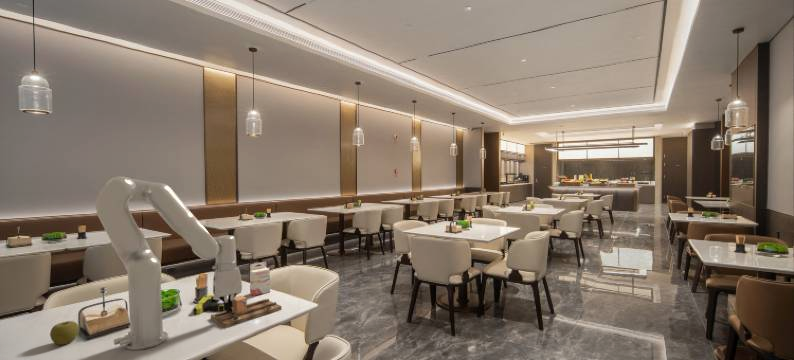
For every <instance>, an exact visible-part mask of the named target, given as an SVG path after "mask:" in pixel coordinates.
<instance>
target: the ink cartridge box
mask: <svg viewBox="0 0 794 360" xmlns="http://www.w3.org/2000/svg"><path fill="white" fill-rule="evenodd" d="M249 292H250V295H252V296H254V297H255V296H258V295H259V296H260V295H264V294H268V293H271V271H270V268H269V267H267V262H266V261H261V262H255V263H250V264H249Z"/></svg>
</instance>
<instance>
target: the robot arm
mask: <svg viewBox="0 0 794 360" xmlns="http://www.w3.org/2000/svg"><path fill="white" fill-rule="evenodd" d="M130 202H131V203H136V204H137V203H138V204H146V205H151V207H152V208H153V209H154V210H155V211H156V212H157V213H158V215H159V216H160V217H161V218H162V219H163V220H164V222H165V223H166V224H167V225H168V226H169V227H170V228H171V229H172V231H174V232H175V233H176V234H178V235H179V236H180V237H182V238H183V240H185V241H186V243H188V245H189V246H190V247H191V251H192V253H193V254H194V255H196V256H197V257H198V258H200V259H202V260H205V261H209V260H210V261H211V260H213V259H215V263H214V265H213V266H212V270H214V273H213V278H212V279H213V280H212V295H214V297H213V299H214V300H219V301H222V303H224V310H225V311H227V312H229V311H232V308H233V300H234V298H235V297H237V295H240V294H241V293H242V290H243V283H242V275H241V272H240V271H241V270H240V268H239V267H237V250H236V249H237V248H236V238H235V236H234V235H229V234H226V235H219V236H212V235H211V233H209V231H208V230H207V229H206V228H205V226H203V225H202V223H201V222H200V221H199V220H198V218H197V217H196V216H195V215H194V214H193V212H191V210H190V209H189V208H188V207H187V206H186V204H185V203H184V202H183V201H182V199H181V198H180V197H179V196H178V194H177V193H176V192H175V191H174V190H173V189H172V187H170V186H169V185H168V184H166V183H164V182H163V183H162V182H153V181H148V180H147V181H146V180H141V179H134V178H130V177H126V176H121V175H119V176H114V177H112V178H110V179H109V180H107V182H106V184H105V185H104V186H103V188H102V189H101V190H100V191H99V193H98V195H97V198H96V202H95V210H96V214H97V218H98V219H99V221H100V223H101V224H102V227H103V229H104V231H105V232H106V234H107V236H108V239H109V240H110V244H111V246H112V249H114V250H115V252H116V254H117V256H118V257H119V259H120V260H121V261H120V262H122V264H123V266H124V268H125V269H126V272H127V280H128V281H127V282H128V285H127V286H128V306H129V307H128V308H129V310H128V311H129V327H130V330H129V331H127V334H125V335H124V336H123V337H117V338H114V339H113V345H114V346H116V345H120V346H123V345H125V348H126V349H127V350H130V351H137V350H138V351H139V350H140V351H141V350H145V349H149V348H152V347H156V346H158V345H160V344H163V343H164V342H166V340H167V339H168V338H169V333H168V332H167V331H164V328H163V327H164V326H163V308H162V307H163V306H162V305H163V303H162V302H163V300H162V266H161V261H160V259H158V257H157V256H156V255H155V254H154V253H153V251H152V249H151V247H150V246H149V243H148V241H147V240H146V238H145V234H144V232H143V231H142V230H141V229H140V228H139V226H138V224H137V222H136V220H135V219H134V216H133V214H132V212H131V211H130V208H129V203H130Z"/></svg>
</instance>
